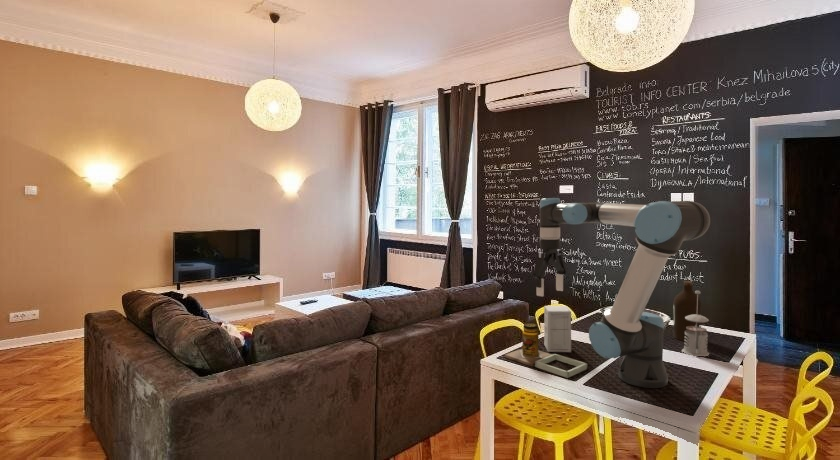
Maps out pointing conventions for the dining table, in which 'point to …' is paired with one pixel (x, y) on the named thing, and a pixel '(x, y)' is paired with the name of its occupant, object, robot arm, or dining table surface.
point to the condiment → (530, 341)
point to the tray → (580, 367)
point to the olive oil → (685, 310)
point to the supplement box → (557, 328)
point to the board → (528, 361)
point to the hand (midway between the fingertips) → (550, 293)
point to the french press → (696, 335)
